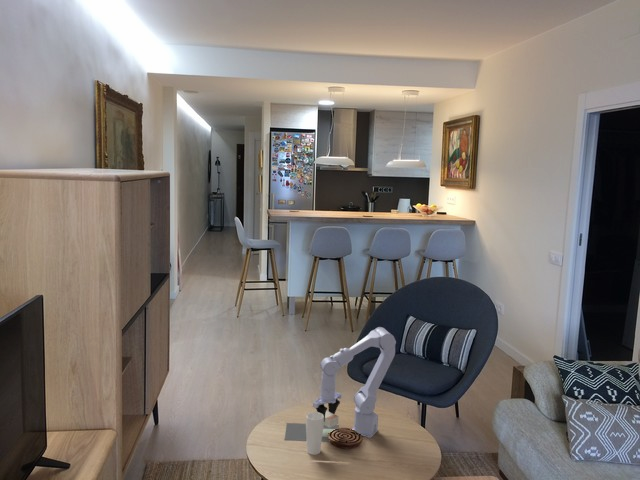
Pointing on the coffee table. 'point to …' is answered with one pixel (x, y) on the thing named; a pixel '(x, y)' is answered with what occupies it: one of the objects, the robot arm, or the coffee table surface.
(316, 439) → the white cylinder
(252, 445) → the coffee table surface
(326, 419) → the card box
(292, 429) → the mat
